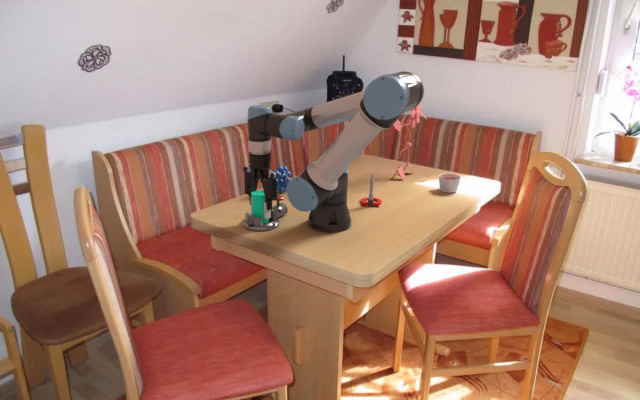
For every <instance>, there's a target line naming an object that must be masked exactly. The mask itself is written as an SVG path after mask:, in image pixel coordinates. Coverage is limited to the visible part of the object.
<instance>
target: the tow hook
mask: <svg viewBox="0 0 640 400" xmlns="http://www.w3.org/2000/svg"><path fill="white" fill-rule="evenodd" d="M369 181H370V183H369V192H368V197H362V198H361V199H360V203H361V206H365V207H378V208H379V207H380V205H381V204H382V203H383V200H382V199H380V198H378V197H377V198H376V197H374V193H373V192H374V181H375V180H374V173H371V176H370V180H369Z"/></svg>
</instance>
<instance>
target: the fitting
mask: <svg viewBox="0 0 640 400" xmlns="http://www.w3.org/2000/svg"><path fill="white" fill-rule="evenodd" d="M284 200H285V198H284V195H278V194H277V199H276V200H274V201H275V202H276V205H275V204H274V205H272V210H271V218H269V222H267V223H264V224H262V217H257V216H252V215H251V213H249V212H245V215H244V216H245V217H244V219H243V220H242V221H241V224H242V225H243V226H242V227H243V228H244V229H245V228H246V230H248V231H253V232H269V231H272V230H276V229H277V228H278V227H279V226H280V219H279V218H280V217H283V216H285V215H287V214H288V211H289V209H288V206H287V205H286V204H285V203H284V202H281V203H280V201H284Z"/></svg>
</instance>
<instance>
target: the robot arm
mask: <svg viewBox="0 0 640 400" xmlns="http://www.w3.org/2000/svg"><path fill="white" fill-rule="evenodd" d="M424 94H425V89H424V84H423V82H422V80H421V78H420V77H419V76H418V75H416V74H415V73H413V72H410V71H405V70H403V71H399V72H395V73H389V74H388V73H387V74H383V75H380V76H377V77H376V78H375V79H373V80H372V81H371V82H369V83H368V84H367V87H366V88H365V89H364V90H362V91H359V92H355V93H352V94H350V95H346V96H344V97H343V96H342V97H340V98H336V99H333V100H330V101H327V102H323V103H320V104H318V105H317V104H316V105H315V106H311V107H308V108H304V109H300V110H298V111H294V112H291V113H286V114H278V113H272V109H271V107H270V106H269V105H266V104H253V105H250V106H249V107H248V109H247V119H246V121H247V129H248V130H247V133H248V138H247V140H248V144H247V145H248V147H247V149H248V163H249V165H246V166H243V168H242V170H243V174H244V194H245V195H247V196H248V198H249V206H250V215H252V202H251V192H255V191H257V189H258V185H259V181H260V183H261V185H262V190H264V195H265V199H266V200H265V201H264V219H265V220H266V219H268V218H271V210H272V207H273V201H275V200H276V199H277V195H278V191H277V182H276V178H277V175H278V173H277V172H273V171H274V170H273V171H272V168H271V162H272V152H271V151H272V150H271V149H272V138H277V139H282V140H286V141H298V140H300V139H301V137H303V135H304V134H305V133H309V132H312V131H315V130H318V129H321V128H325V127H329V126H333V125H336V124H339V123H343V122H347V121H349V122H348V124H347V125H346V126H345V127H344V128H343V130H342V131H341V132H340V133H339V134H338V135H337V137H336V138H335V139H334V140H333V141H332V142H331V144H330V146H329V148H328V149H327V148H326V149H327V150H326V149H325V151H324V152H323V154H322V155H321V156H320V157H319V158H318V159H317V160H315V161H311V162H309V163H308V164H307V165H306V167H305V168H303V170H302V171H301V172H300V174H298V176H294V177H292V178H291V180H290V181H289V183H288V185H287V189H286V193H287V195H286V196H287V200H288V201H289V203H290V204H291V206H292V207H294V209H296V210H298V211H299V212H305V213H306V212H307V213H308V212H309V214H308V219H307V220H308V221H307V225H308V226H309V227H310V228H311V229H313V230H315V231H319V232H325V233H338V232H343V231H346V230H348V229H349V228H350V227H351V226H352V218H351V215H350V211H349V207H348V203H347V202H348V185H349V183H348V181H349V170H348V169H349V167H350V166H351V165H352V164H353V163H354V162H355V160H357V158H358V157H359V156H360V154H362V153H363V152H364V150H365V149H366V148H367V147H368V146H369V145H370V144H371V142H373V140H374V139H375V138H376V137H377V136H378V134H380V132H381V131H382V130H389V129H391V128H392V127H394V126H393V124H394V123H395V122H396V121H397V120H399V119H400V118H401V117H402V116H403V115H404V114H405V113H407V112H410V111H411V110H413V109H414V108H416V107H417V106H418V105H419V106H420V104H421V102H422V101H423V98H424Z"/></svg>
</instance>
